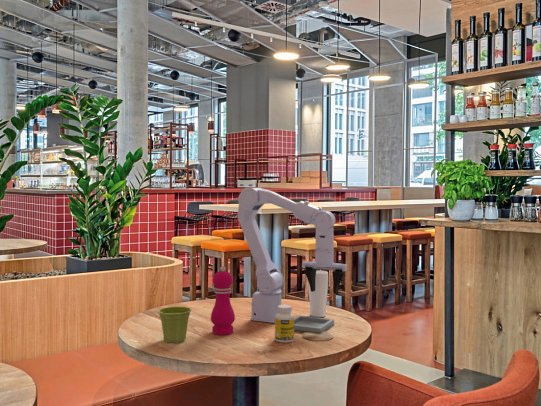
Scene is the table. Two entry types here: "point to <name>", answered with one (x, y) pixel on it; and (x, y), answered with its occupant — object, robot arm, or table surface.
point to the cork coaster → (318, 336)
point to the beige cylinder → (319, 294)
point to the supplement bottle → (284, 324)
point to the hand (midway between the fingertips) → (324, 292)
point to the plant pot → (174, 323)
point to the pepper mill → (222, 304)
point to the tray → (312, 324)
